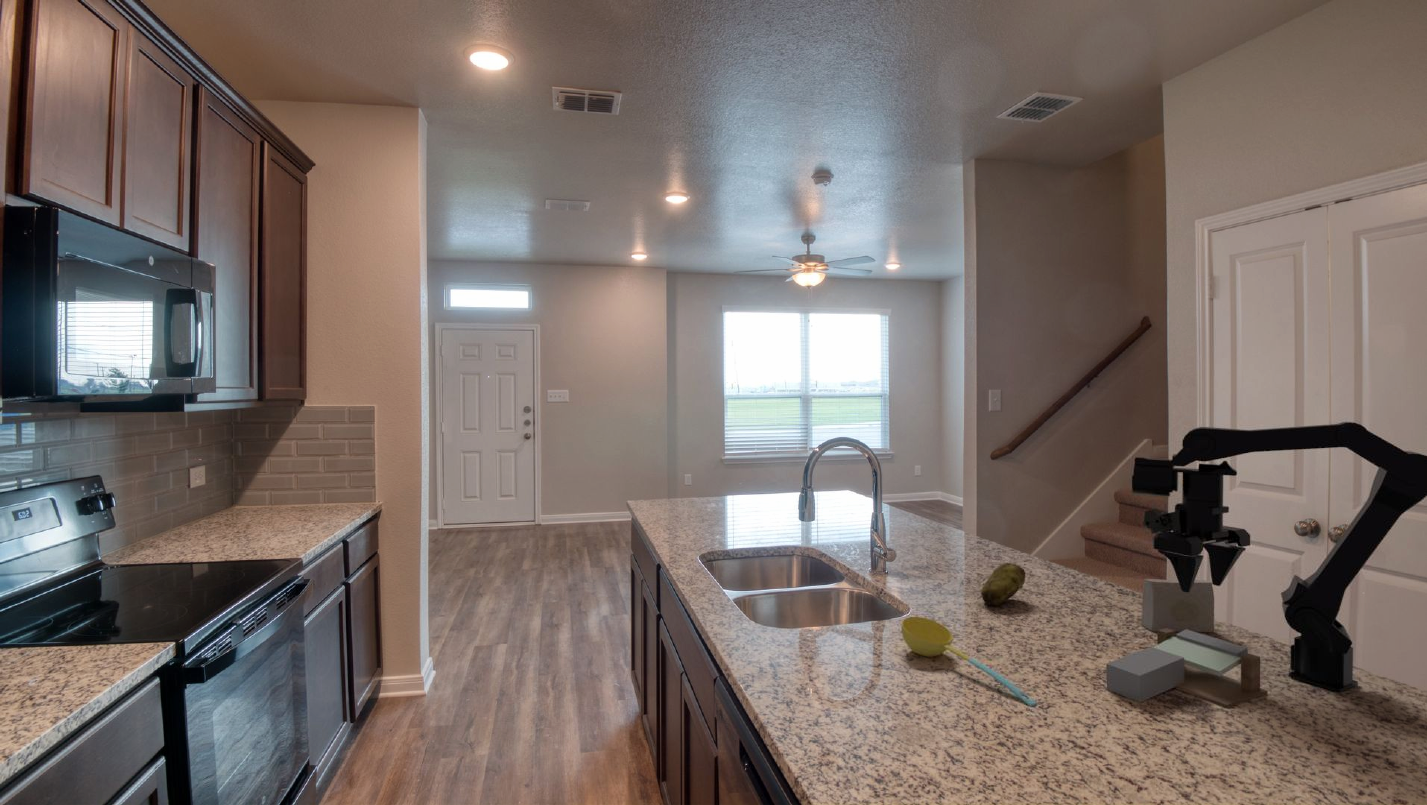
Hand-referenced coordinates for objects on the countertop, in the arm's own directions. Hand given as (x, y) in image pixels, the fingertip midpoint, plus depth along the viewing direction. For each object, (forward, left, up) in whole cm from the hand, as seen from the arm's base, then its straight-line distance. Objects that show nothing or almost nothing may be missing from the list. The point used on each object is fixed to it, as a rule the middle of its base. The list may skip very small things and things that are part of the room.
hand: (1201, 588), depth 114 cm
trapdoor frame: (-5, +11, -12) cm, 17 cm away
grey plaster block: (+10, -11, -12) cm, 19 cm away
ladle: (+13, +42, -12) cm, 46 cm away
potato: (+37, +6, -12) cm, 39 cm away
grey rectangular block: (-3, +15, -10) cm, 18 cm away
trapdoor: (-5, +9, -9) cm, 14 cm away
